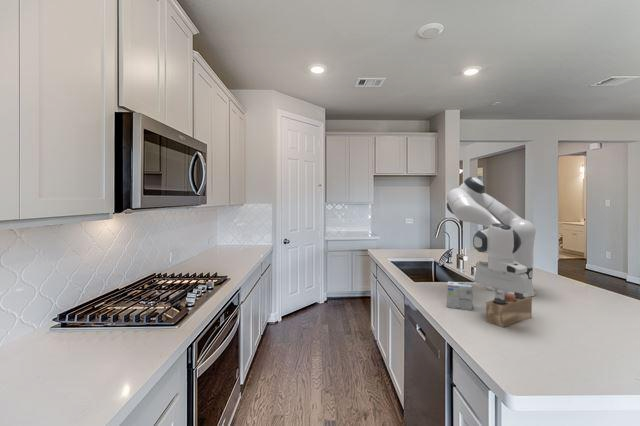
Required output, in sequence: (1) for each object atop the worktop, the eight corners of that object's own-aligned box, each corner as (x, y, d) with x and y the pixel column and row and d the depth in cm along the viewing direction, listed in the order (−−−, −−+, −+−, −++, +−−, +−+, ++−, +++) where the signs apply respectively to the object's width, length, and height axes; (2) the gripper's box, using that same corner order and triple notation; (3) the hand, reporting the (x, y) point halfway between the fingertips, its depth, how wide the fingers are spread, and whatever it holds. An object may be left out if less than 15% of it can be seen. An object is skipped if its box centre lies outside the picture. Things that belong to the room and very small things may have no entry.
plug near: (491, 318, 129) (492, 298, 129) (497, 316, 131) (497, 297, 131) (501, 321, 126) (502, 301, 125) (507, 319, 128) (507, 299, 127)
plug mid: (501, 313, 133) (502, 294, 132) (506, 311, 135) (507, 293, 134) (511, 316, 129) (512, 297, 129) (516, 314, 131) (517, 295, 131)
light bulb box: (472, 306, 149) (472, 283, 148) (472, 310, 143) (472, 286, 142) (447, 303, 153) (447, 280, 153) (446, 307, 147) (446, 284, 147)
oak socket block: (485, 321, 130) (486, 302, 129) (514, 312, 141) (514, 293, 140) (503, 327, 124) (503, 307, 123) (531, 316, 135) (531, 298, 134)
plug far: (510, 306, 136) (511, 287, 136) (516, 304, 138) (516, 286, 138) (520, 308, 133) (521, 289, 133) (525, 307, 135) (526, 288, 135)
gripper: (471, 261, 135) (470, 293, 135) (523, 270, 117) (522, 307, 118) (480, 259, 138) (479, 291, 139) (531, 268, 121) (530, 304, 121)
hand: (499, 299), depth 128 cm, fingers closed, pressing on plug near
